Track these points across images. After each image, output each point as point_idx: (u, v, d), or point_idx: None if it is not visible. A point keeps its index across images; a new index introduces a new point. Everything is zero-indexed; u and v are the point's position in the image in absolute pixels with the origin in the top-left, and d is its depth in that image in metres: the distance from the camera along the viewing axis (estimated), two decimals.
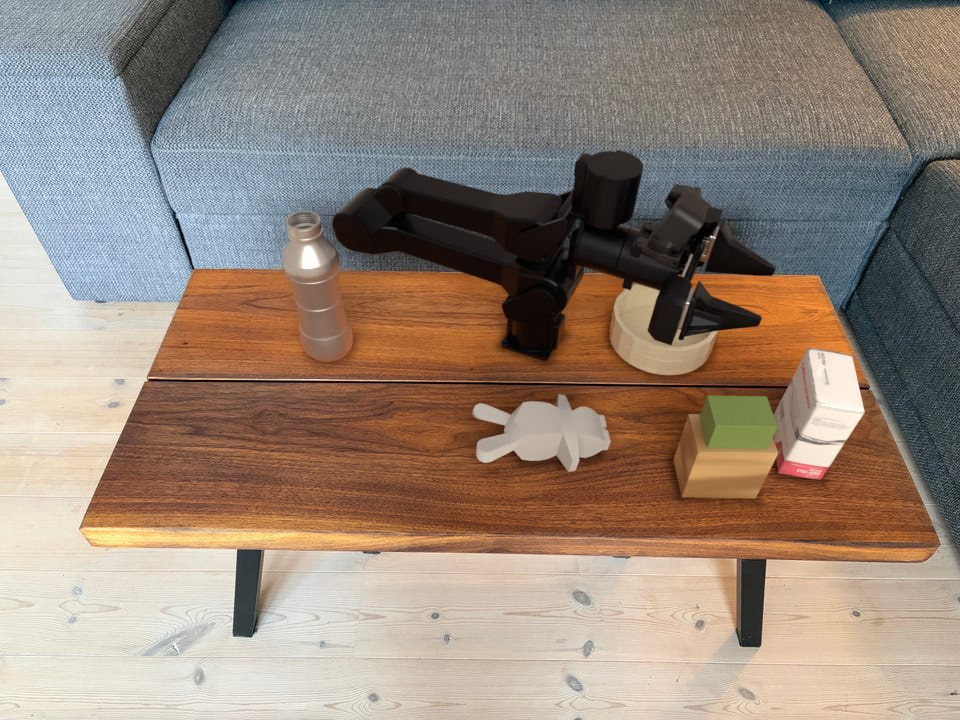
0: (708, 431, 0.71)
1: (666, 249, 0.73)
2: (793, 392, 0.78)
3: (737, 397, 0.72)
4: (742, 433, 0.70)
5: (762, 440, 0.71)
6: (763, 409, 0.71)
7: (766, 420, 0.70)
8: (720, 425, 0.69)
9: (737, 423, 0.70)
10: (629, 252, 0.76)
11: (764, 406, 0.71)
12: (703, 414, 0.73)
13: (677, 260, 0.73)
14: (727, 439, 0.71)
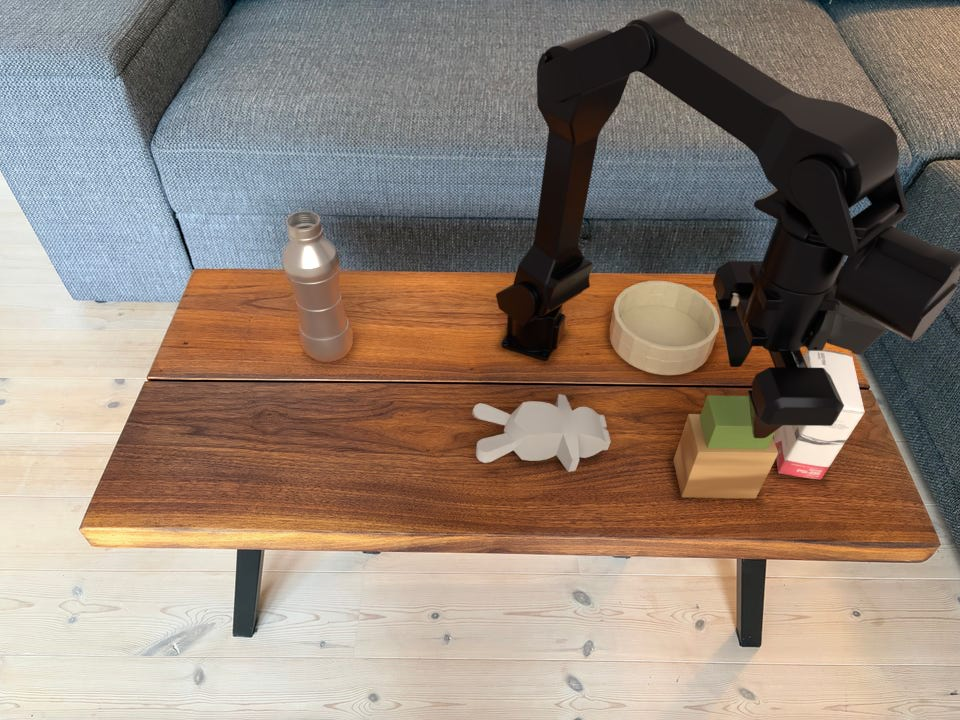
0: (708, 431, 0.71)
1: (835, 336, 0.60)
2: None
3: (737, 397, 0.72)
4: (742, 433, 0.70)
5: (762, 440, 0.71)
6: None
7: None
8: (720, 425, 0.69)
9: (737, 423, 0.70)
10: (825, 299, 0.57)
11: None
12: (703, 414, 0.73)
13: (821, 349, 0.61)
14: (727, 439, 0.71)
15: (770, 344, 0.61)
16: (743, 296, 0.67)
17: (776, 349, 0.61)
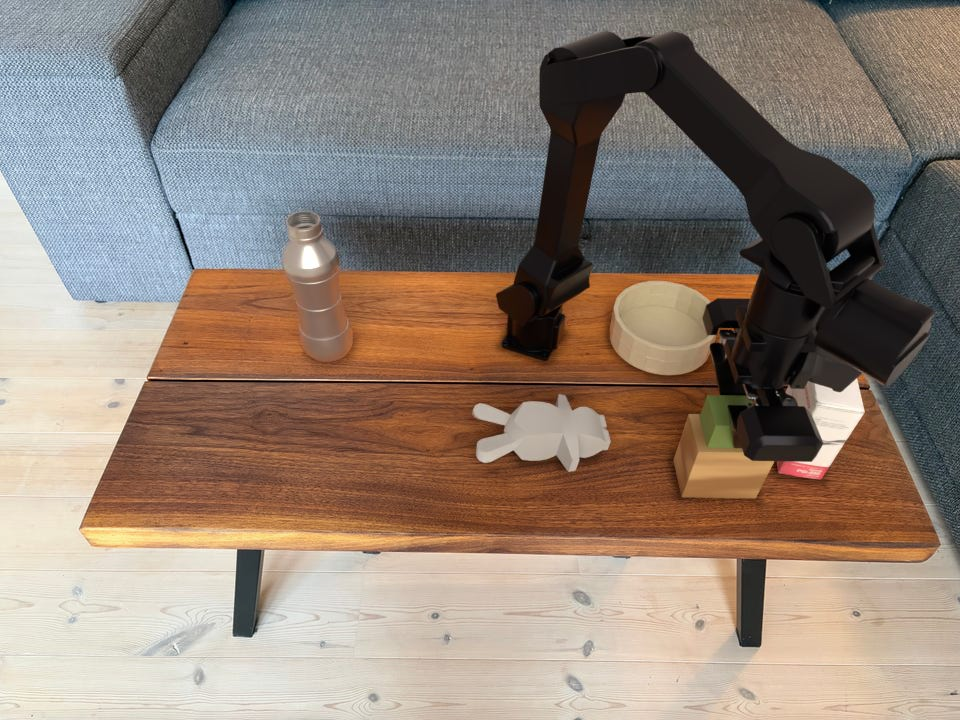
0: (708, 431, 0.71)
1: (816, 376, 0.63)
2: (793, 392, 0.78)
3: (737, 397, 0.72)
4: None
5: None
6: None
7: None
8: (720, 425, 0.69)
9: None
10: (806, 342, 0.61)
11: None
12: (703, 414, 0.73)
13: (803, 388, 0.64)
14: (727, 439, 0.71)
15: (755, 382, 0.64)
16: None
17: (760, 387, 0.64)
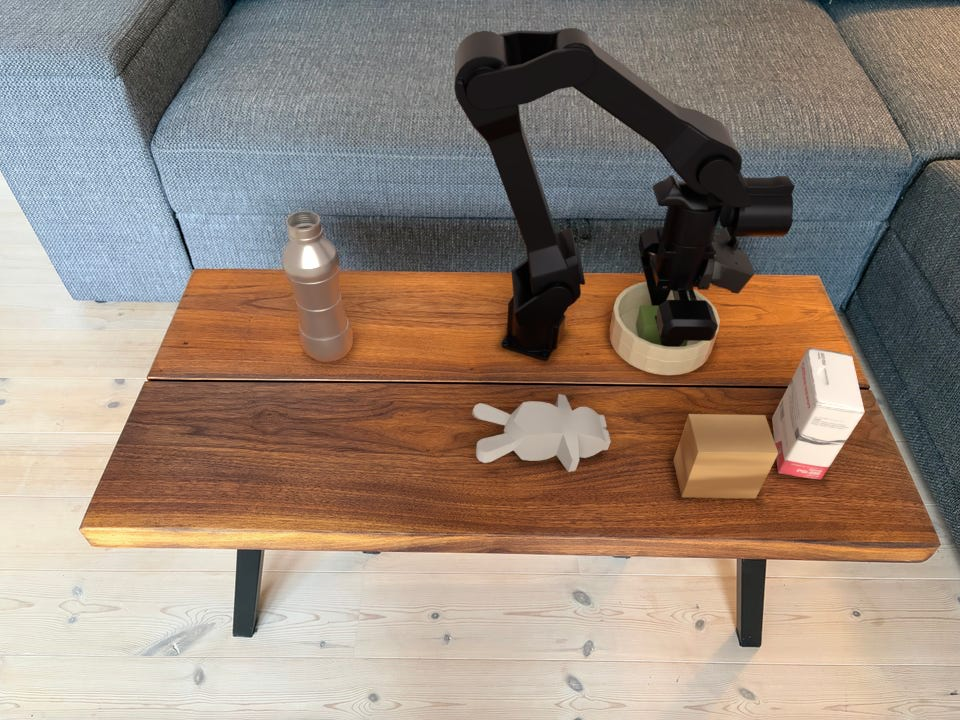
0: (640, 332, 0.92)
1: (716, 279, 0.84)
2: (793, 392, 0.78)
3: None
4: None
5: None
6: None
7: None
8: (648, 325, 0.90)
9: None
10: (706, 251, 0.81)
11: None
12: (638, 321, 0.94)
13: (707, 289, 0.85)
14: (654, 338, 0.92)
15: (671, 285, 0.85)
16: None
17: (675, 288, 0.85)
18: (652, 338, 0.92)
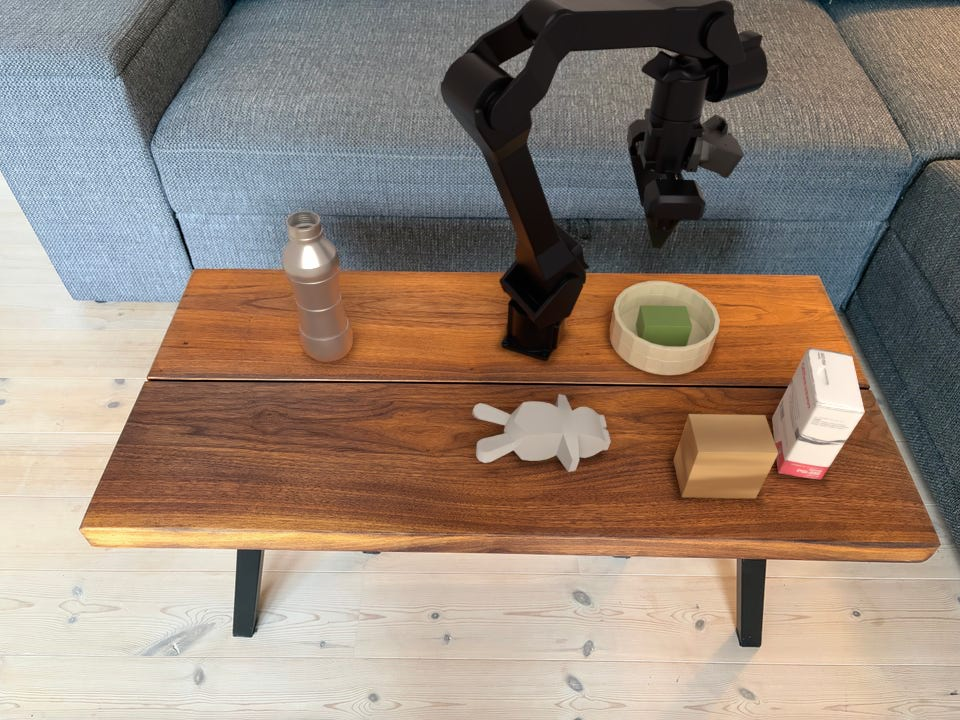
0: (640, 332, 0.92)
1: (705, 160, 0.82)
2: (793, 392, 0.78)
3: (663, 306, 0.93)
4: (665, 332, 0.91)
5: (681, 338, 0.92)
6: (682, 314, 0.92)
7: (684, 322, 0.91)
8: (648, 325, 0.90)
9: (661, 324, 0.90)
10: (694, 127, 0.80)
11: (683, 312, 0.92)
12: (638, 321, 0.94)
13: (695, 171, 0.83)
14: (654, 338, 0.92)
15: (658, 167, 0.83)
16: None
17: (663, 171, 0.83)
18: (652, 338, 0.92)
